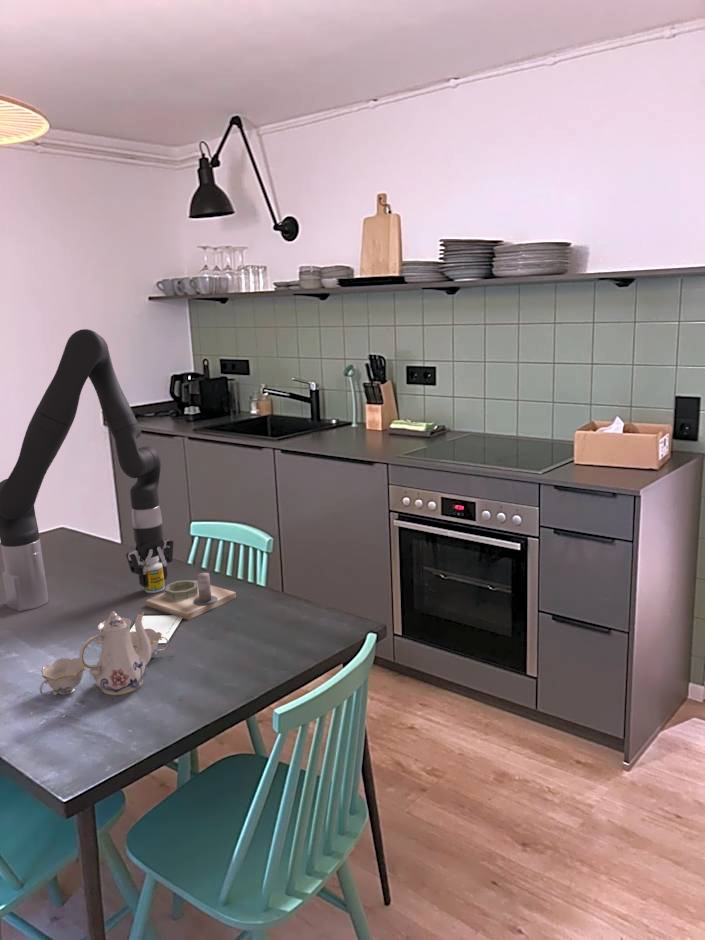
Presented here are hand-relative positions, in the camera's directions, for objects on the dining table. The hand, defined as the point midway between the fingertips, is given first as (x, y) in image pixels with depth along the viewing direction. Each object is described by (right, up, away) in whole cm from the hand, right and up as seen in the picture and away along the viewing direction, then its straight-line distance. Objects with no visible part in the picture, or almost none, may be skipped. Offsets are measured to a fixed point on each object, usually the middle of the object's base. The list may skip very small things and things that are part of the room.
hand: (154, 582), depth 205 cm
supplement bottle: (0, -2, +1) cm, 2 cm away
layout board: (+12, -4, -9) cm, 15 cm away
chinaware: (+4, -14, -47) cm, 49 cm away
